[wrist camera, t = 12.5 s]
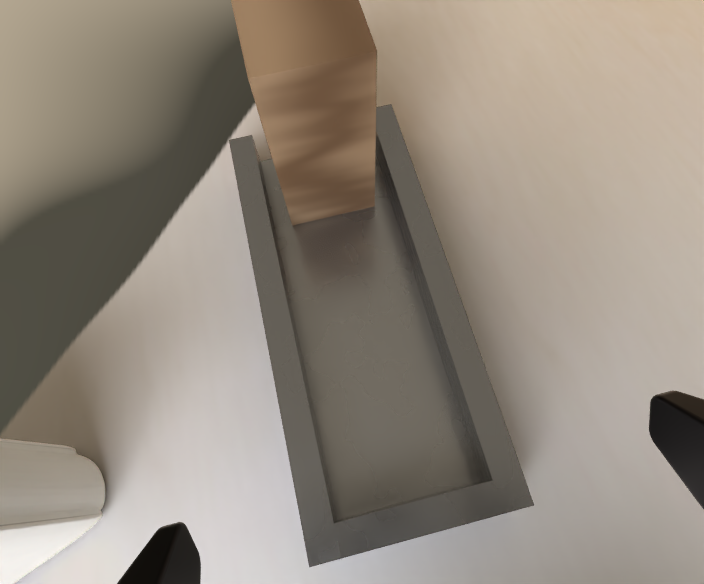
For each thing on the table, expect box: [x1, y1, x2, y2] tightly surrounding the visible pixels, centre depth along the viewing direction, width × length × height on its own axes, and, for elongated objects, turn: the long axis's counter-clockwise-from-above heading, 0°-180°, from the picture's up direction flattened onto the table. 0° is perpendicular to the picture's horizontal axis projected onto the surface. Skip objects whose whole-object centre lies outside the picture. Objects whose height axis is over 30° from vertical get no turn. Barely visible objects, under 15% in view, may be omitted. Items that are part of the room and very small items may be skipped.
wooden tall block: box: [231, 0, 377, 225], centre depth 22 cm, size 4×5×10 cm
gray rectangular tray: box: [229, 104, 534, 567], centre depth 23 cm, size 20×9×3 cm, turn 14°
